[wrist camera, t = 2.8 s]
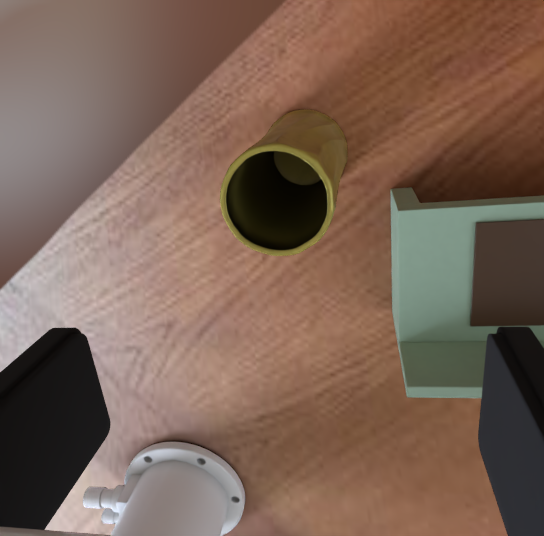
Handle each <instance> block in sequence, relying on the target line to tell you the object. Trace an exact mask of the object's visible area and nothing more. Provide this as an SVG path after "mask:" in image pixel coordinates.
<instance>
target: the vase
mask: <svg viewBox="0 0 544 536" xmlns="http://www.w3.org/2000/svg"><path fill="white" fill-rule="evenodd" d="M347 157H348V152H347V142H346V139H345V136H344V134H343V132H342V130H341V129H340V127H339V126H338V124H337V123H336V122H335V121H334V120H333V119H331V118H330V117H328V116H327V115H325V114H323V113H320V112H318V111H314V110H296V111H292V112H289V113H287V114H285V115H283V116H282V117H281V118H279V119H278V120H277V121H276V122H275V123H274V124H273V125H272V126H271V128H270V129H269V131H268V133H267V134H266V135H265V136H264V137H263V138H262V139H261V140H260V141H259V142H257V143H256V144H255V145H253V146H252V147H250V148H249V149H248V150H246V151H245V152H244V153H243V154H241V155H240V156H239V157H238V158H237V159H236V160H235V161H234V162H233V163H232V164H231V165H230V167H229V169H228V171H227V173H226V175H225V178H224V180H223V183H222V186H221V191H220V204H221V210H222V215H223V217H224V220H225V222H226V223H227V225H228V227H229V229H230V230H231V232H232V233H233V235H234V236H235V237H236V238H237V239H238V240H239V241H240V242H241V243H243V244H244V245H246V246H247V247H249V248H251V249H252V250H255V251H258V252H261V253H264V254H268V255H273V256H288V255H295V254H298V253H300V252H302V251H304V250H306V249H307V248H309V247H311V246H312V245H314V244H315V243H316V242H318V241H319V240H320V239H321V238H322V236H323V235H324V234H325V232H326V231H327V229H328V227H329V225H330V223H331V220H332V217H333V214H334V210H335V207H336V199H337V193H338V186H339V182H340V178H341V175H342V172H343V170H344V167H345V165H346V162H347Z"/></svg>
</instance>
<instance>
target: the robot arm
mask: <svg viewBox="0 0 544 536" xmlns="http://www.w3.org/2000/svg"><path fill="white" fill-rule="evenodd" d="M109 430H110V418H109V415H108V411H107V407H106V404H105V400H104V397H103V393H102V390H101V386H100V383H99V379H98V375H97V372H96V368H95V365H94V361H93V358H92V354H91V350H90V347H89V343H88V340H87V337H86V336H85V335H84V334H81V332H80V331H79V330H78V329H77V328H52V329H51V330H49V331H48V332H47V333H46V334H44V335H43V336H42V337H41V338H40V339H39V340H37V341H36V342H35V343H34V344H33V345H32V346H30V347H29V348H28V349H27V350H26V351H25V352H23V353H22V354H21V355H20V356H19V357H18V358H17V359H15V360H14V361H13V362H12V363H11V364H10V365H8V366H7V367H6V368H5V369H4V370H3V371H1V372H0V536H223V535H225V534H226V533H228V532H230V531H231V530H232V529H233V528H234V527H235V526H236V525H237V524H238V522H239V521H240V519H241V517H242V513H243V510H244V505H245V491H244V488H243V485H242V482H241V480H240V478H239V477H238V475H237V473H236V472H235V471H234V470H233V469H232V467H231V466H230V465H229V464H228V463H227V462H225V461H224V460H223V459H222V458H220V457H219V456H217V455H216V454H214V453H212V452H211V451H209V450H207V449H204V448H202V447H200V446H197V445H193V444H189V443H183V442H162V443H158V444H153V445H151V446H149V447H147V448H145V449H143V450H142V451H141V452H139V453H138V454H137V455H136V456H135V458H134V459H133V460H132V462H131V464H130V465H129V467H128V469H127V471H126V475H125V485H118V486H117V487H116V488H115V489H108V488H106V487H89V488H87V490H86V491H85V494H84V497H83V504H84V506H85V507H86V508H101V509H102V508H106V509H105V510H104V511H103V514H102V522H103V523H108V524H116V525H115V527H114V529H113V531H112V533H111V535H100V534H88V533H75V532H62V531H49V530H44V529H45V528H46V526H47V525H48V523H49V522H50V520H51V519H52V517H53V516H54V515H55V513H56V512H57V510H58V509H59V507H60V506H61V504H62V503H63V501H64V500H65V498H66V497H67V495H68V494H69V492H70V491H71V489H72V488H73V486H74V485H75V483H76V482H77V480H78V479H79V477H80V476H81V474H82V473H83V471H84V470H85V468H86V467H87V465H88V464H89V462H90V461H91V459H92V458H93V456H94V455H95V453H96V452H97V450H98V449H99V447H100V446H101V444H102V443H103V441H104V440H105V438H106V437H107V435H108V433H109ZM478 440H479V447H480V452H481V455H482V458H483V461H484V464H485V467H486V470H487V473H488V476H489V479H490V482H491V485H492V488H493V492H494V495H495V498H496V501H497V504H498V507H499V510H500V513H501V516H502V519H503V522H504V525H505V528H506V531H507V534H508V536H544V348H543V346H542V345H541V343H540V342H539V340H538V339H537V337H536V336H535V334H534V333H533V331H532V330H531V329H530V328H529V327H499V328H498V329H497V332H496V334H488V337H487V343H486V354H485V365H484V377H483V388H482V399H481V410H480V421H479V432H478ZM109 508H112V509H109Z"/></svg>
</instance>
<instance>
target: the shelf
mask: <svg viewBox="0 0 544 536" xmlns="http://www.w3.org/2000/svg"><path fill="white" fill-rule="evenodd" d="M391 258H392V313H393V319H394V325H395V331H396V337H397V343H398V349H399V354H400V360H401V366H402V372H403V378H404V383H405V389H406V395H407V397H423V398H482V388H483V377H484V365H485V354H486V343H487V337H488V334H496V332H497V329H498V328H499V327H529V328H530V329H531V330H532V331H533V333H534V334H535V336H536V337H537V339H538V340H539V342H540V343H541V345H542V346H543V348H544V195H543V196H527V197H511V198H495V199H479V200H463V201H447V202H431V203H420V202H419V200H418V198H417V197H416V195H415V193H414V191H413V189H412V188H411V187H410V188H395V189H391Z"/></svg>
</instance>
